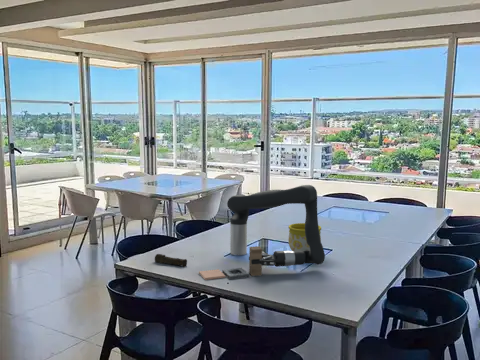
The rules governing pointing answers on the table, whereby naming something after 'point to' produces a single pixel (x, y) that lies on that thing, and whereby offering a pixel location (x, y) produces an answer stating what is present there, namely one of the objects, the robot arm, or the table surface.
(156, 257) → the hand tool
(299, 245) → the flowerpot
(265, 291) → the table surface
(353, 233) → the table surface
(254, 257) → the walnut block
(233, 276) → the hole plate
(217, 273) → the tile
